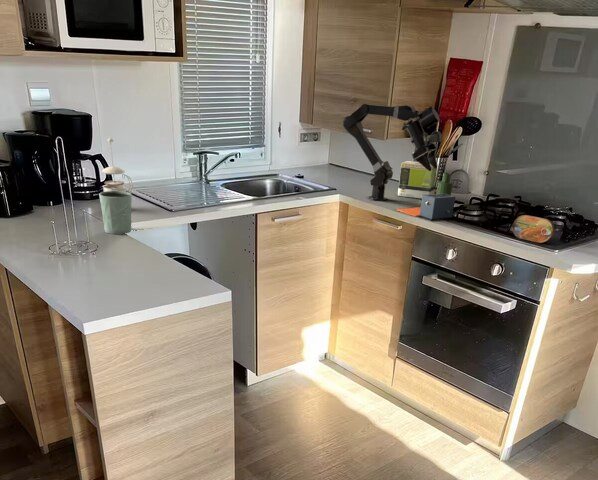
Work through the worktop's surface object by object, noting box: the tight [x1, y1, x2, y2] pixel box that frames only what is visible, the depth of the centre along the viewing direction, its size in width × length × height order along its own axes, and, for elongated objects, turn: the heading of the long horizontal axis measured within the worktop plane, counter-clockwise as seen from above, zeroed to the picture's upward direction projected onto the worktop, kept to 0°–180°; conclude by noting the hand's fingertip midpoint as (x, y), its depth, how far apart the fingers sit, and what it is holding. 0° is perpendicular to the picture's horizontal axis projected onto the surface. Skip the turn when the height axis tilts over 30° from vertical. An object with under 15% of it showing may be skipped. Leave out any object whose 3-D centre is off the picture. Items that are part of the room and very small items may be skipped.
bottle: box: [435, 172, 454, 196], centre depth 259 cm, size 6×6×14 cm
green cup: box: [98, 191, 133, 235], centre depth 198 cm, size 10×10×12 cm
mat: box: [396, 206, 421, 217], centre depth 251 cm, size 12×14×1 cm
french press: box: [101, 137, 133, 193], centre depth 223 cm, size 10×12×25 cm
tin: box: [512, 214, 556, 244], centre depth 217 cm, size 15×3×8 cm, turn 45°
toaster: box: [418, 193, 456, 222], centre depth 242 cm, size 8×12×9 cm, turn 122°
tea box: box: [397, 160, 439, 200], centre depth 278 cm, size 15×10×15 cm
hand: (433, 169), depth 255 cm, fingers open, 9 cm apart
